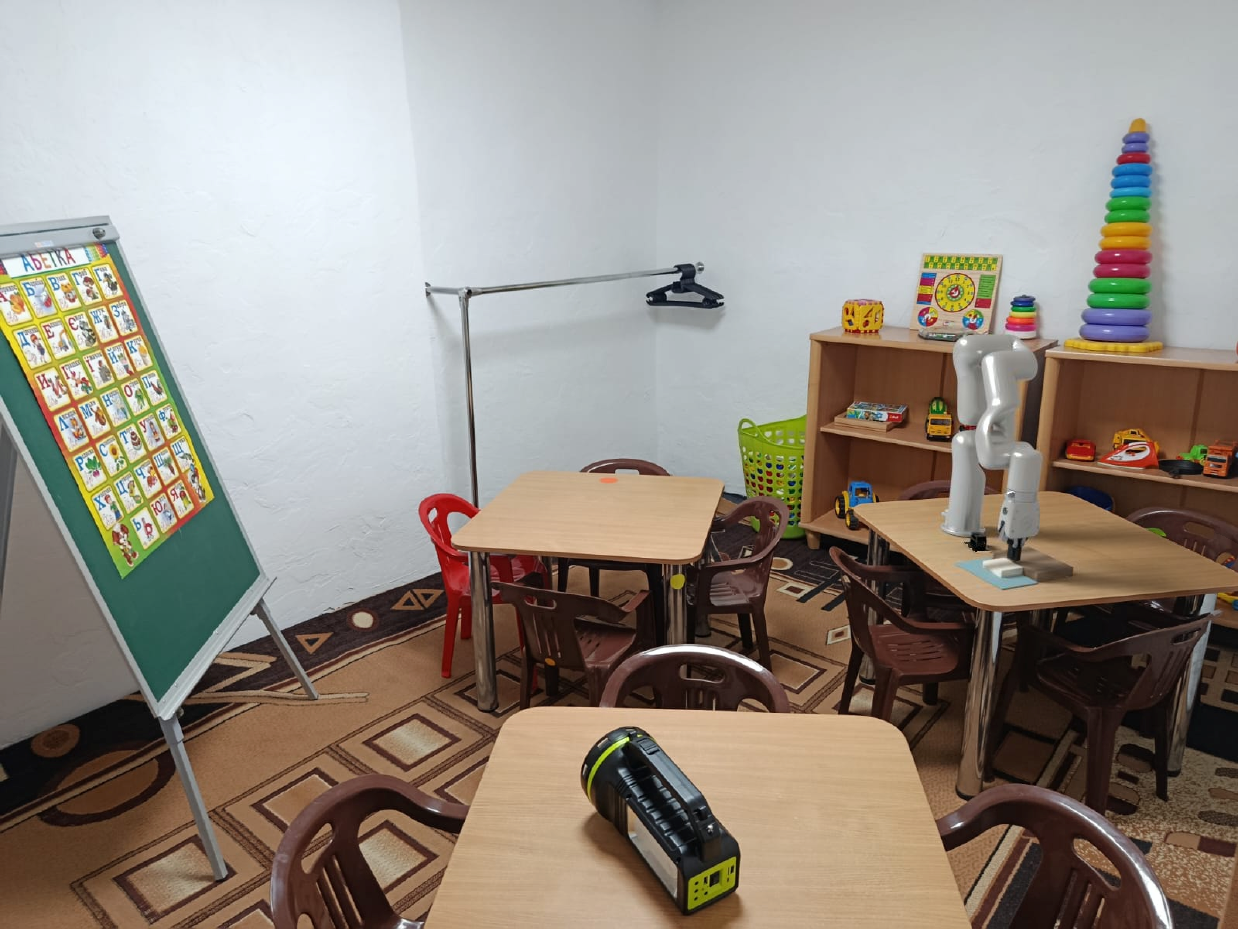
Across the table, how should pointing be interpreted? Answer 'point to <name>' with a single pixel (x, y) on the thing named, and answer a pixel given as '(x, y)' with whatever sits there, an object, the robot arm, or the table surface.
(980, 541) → the black irregular piece
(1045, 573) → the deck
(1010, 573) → the tile
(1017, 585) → the mat
